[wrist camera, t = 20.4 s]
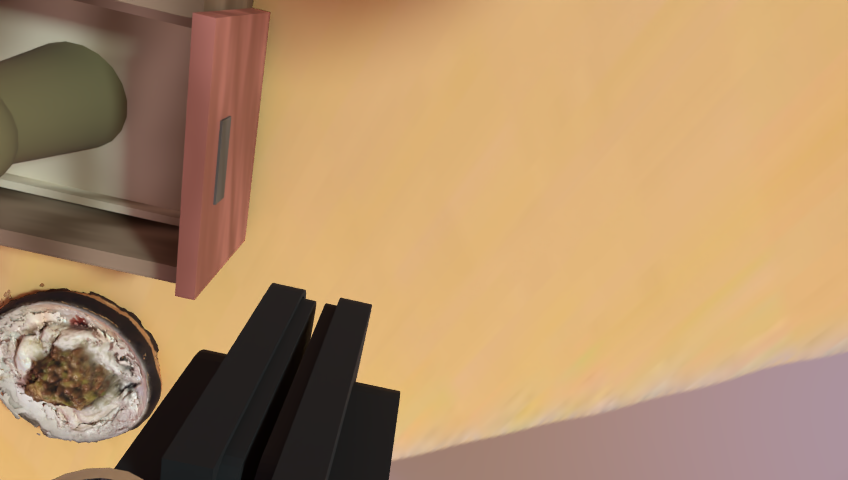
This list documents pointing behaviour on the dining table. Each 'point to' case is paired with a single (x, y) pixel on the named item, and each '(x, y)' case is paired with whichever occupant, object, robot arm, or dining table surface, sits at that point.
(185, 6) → the caddy
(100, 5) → the drawer
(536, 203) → the dining table surface
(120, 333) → the pie
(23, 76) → the olive green pawn
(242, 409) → the robot arm
